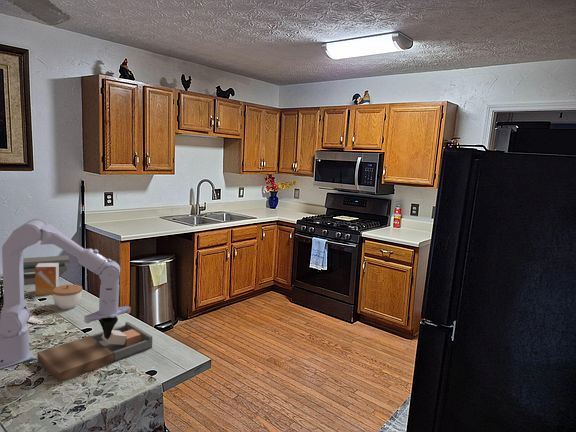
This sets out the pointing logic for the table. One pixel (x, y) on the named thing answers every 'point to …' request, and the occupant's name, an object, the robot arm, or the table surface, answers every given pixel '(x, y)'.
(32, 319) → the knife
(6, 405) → the table surface
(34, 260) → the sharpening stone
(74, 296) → the lidded jar
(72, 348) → the brown wooden board
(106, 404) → the table surface
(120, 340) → the cream tile
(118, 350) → the tray
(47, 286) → the small box
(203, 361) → the table surface
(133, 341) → the terracotta tile
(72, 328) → the table surface
